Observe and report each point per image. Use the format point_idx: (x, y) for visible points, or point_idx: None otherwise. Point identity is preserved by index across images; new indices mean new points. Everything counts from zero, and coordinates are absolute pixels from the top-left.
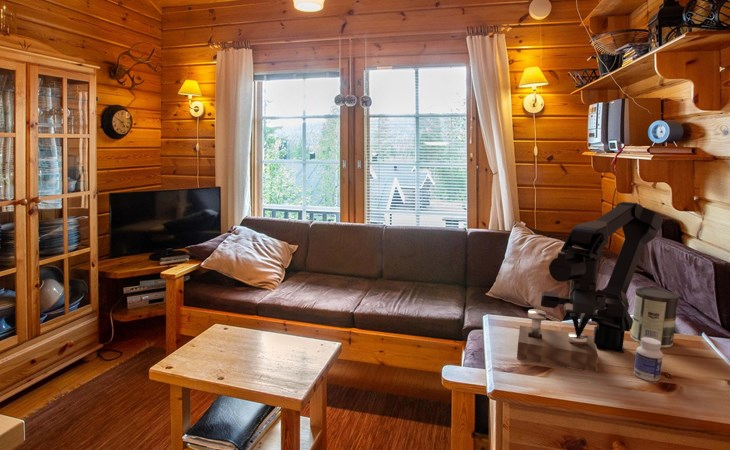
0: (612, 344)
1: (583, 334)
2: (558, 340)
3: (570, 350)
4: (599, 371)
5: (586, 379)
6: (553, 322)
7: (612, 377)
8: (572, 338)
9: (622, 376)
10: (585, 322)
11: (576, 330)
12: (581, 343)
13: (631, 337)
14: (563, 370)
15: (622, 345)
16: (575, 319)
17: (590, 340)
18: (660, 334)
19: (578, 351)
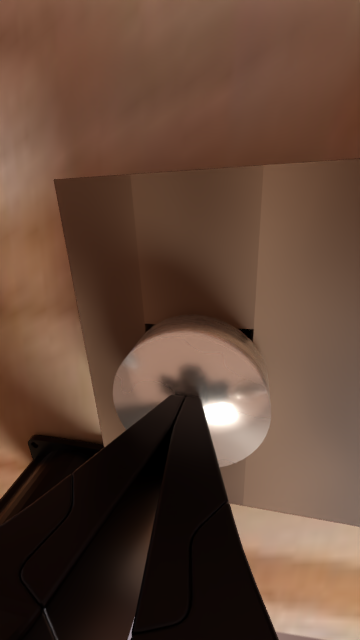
0: (54, 465)
1: None
2: (348, 364)
3: (273, 166)
4: None
5: (169, 35)
6: None
7: (44, 163)
8: (240, 349)
9: (9, 203)
10: (36, 522)
11: (196, 430)
12: (167, 322)
13: None
14: (307, 110)
15: (26, 468)
16: (195, 602)
17: (116, 423)
18: None
19: (200, 177)
